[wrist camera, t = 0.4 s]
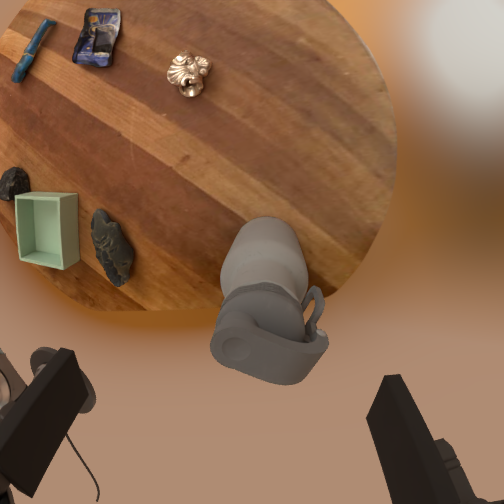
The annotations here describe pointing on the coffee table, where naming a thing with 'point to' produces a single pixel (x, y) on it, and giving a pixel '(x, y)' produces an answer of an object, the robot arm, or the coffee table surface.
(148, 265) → the coffee table surface
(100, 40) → the snack package
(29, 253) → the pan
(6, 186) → the rock
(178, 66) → the ornament
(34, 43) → the blue long piece
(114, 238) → the stone
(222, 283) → the water bottle
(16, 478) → the robot arm
